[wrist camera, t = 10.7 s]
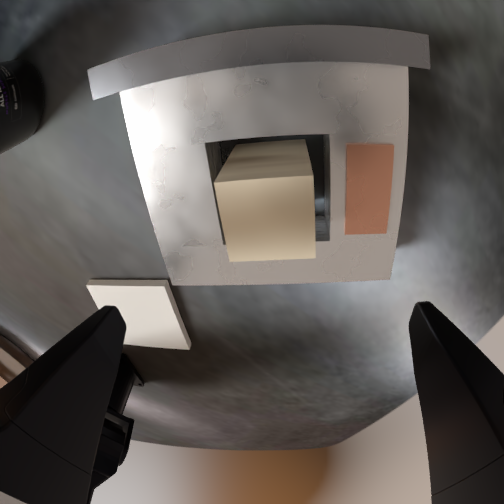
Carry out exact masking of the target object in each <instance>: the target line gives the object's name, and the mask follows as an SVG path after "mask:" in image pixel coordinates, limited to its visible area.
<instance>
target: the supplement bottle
mask: <svg viewBox="0 0 504 504" xmlns="http://www.w3.org/2000/svg"><path fill="white" fill-rule="evenodd" d="M43 109H44V87H43V83H42V79H41V77H40V74H39V73H38V71H37V69H36V68H35V67H34V66H33V65H32V64H31V63H29V62H27V61H25V60H11V61H6V62H1V63H0V154H1V153H3V152H5V151H7V150H9V149H11V148H13V147H15V146H16V145H18V144H20V143H22V142H24V141H26V140H27V139H28V138H29V137H30V136H31V135H32V134H33V133H34V132H35V130H36V129H37V127H38V125H39V123H40V120H41V117H42V114H43Z"/></svg>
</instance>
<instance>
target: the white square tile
mask: <svg viewBox="0 0 504 504" xmlns="http://www.w3.org/2000/svg"><path fill="white" fill-rule="evenodd" d="M86 286H87V288H88V290H89V292H90V294H91V296H92V297H93V299H94V301H95V303H96V305H97V307H98V308H99V309H100V308H102V307H103V306H105V305H111V306H116V307H117V308H118V309H119V311H120V313H121V315H122V317H123V319H124V321H125V323H126V334H125V339H124V343H123V344H128V345H137V346H147V347H158V348H170V349H184V350H190V347H191V341H190V338H189V336H188V333H187V331H186V328H185V326H184V323H183V321H182V318H181V316H180V313H179V310H178V308H177V305H176V302H175V300H174V297H173V294H172V291H171V289H170V286H169V283H168V280H94V279H90V280H89V282H88V283H87V285H86Z"/></svg>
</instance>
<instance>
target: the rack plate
mask: <svg viewBox="0 0 504 504" xmlns="http://www.w3.org/2000/svg"><path fill="white" fill-rule="evenodd" d="M408 67H415V68H423V69H430V50H429V36H428V35H427V34H421V33H415V32H409V31H402V30H395V29H386V28H377V27H365V26H348V25H292V26H275V27H263V28H253V29H244V30H237V31H229V32H223V33H217V34H211V35H205V36H200V37H195V38H190V39H186V40H181V41H177V42H173V43H169V44H165V45H161V46H157V47H153V48H150V49H146V50H143V51H140V52H136V53H133V54H130V55H127V56H124V57H121V58H118V59H115V60H112V61H109V62H106V63H104V64H101V65H98V66H96V67H93V68H91V69H88V70H87V72H88V77H89V83H90V88H91V93H92V98H93V100H96V99H99V98H102V97H105V96H108V95H112V94H115V93H119V92H120V97H121V102H122V107H123V112H124V116H125V121H126V125H127V130H128V134H129V139H130V143H131V147H132V151H133V155H134V159H135V163H136V167H137V171H138V175H139V178H140V182H141V186H142V189H143V193H144V197H145V200H146V204H147V207H148V210H149V214H150V217H151V221H152V224H153V227H154V230H155V234H156V237H157V240H158V243H159V246H160V249H161V253H162V256H163V259H164V262H165V265H166V268H167V271H168V274H169V277H170V279H171V282H172V285H258V284H296V283H325V282H349V281H370V280H389V279H390V276H391V271H392V266H393V261H394V255H395V250H396V244H397V238H398V231H399V224H400V217H401V210H402V202H403V193H404V184H405V173H406V160H407V145H408V119H409V80H408ZM306 134H323V147H324V188H325V215H320V216H315V244H316V258H311V259H289V260H265V261H241V262H230V261H229V256H228V251H227V247H226V242H225V237H224V232H223V227H222V222H221V217H220V212H219V207H218V202H217V197H216V191H215V186H214V182H215V180H216V178H217V176H218V174H219V173H220V171H221V169H222V167H223V164H222V158H221V152H220V145H219V141H224V140H233V139H244V138H255V137H269V136H284V135H306Z"/></svg>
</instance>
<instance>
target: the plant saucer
mask: <svg viewBox="0 0 504 504" xmlns="http://www.w3.org/2000/svg"><path fill="white" fill-rule="evenodd" d="M33 362H34V361H33V360H32V359H31V358H30V357H29V356H28V355H26V354H25V353H24V352H23V351H22V350H21V349H19V348H18V347H17V346H16V345H14V344H13V343H12V342H10V341H9V340H8V339H6V338H5V337H3V336H2V335H0V376H1V377H2V378H3V379H4V380H5V381H7V382H8V383H9V382H10V381H11V380H12V379H14V378H15V377H16V376H17V375H19V374H20V373H21V372H22V371H23V370H24V369H26V368H27V367H29V365H30V364H32V363H33Z"/></svg>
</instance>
